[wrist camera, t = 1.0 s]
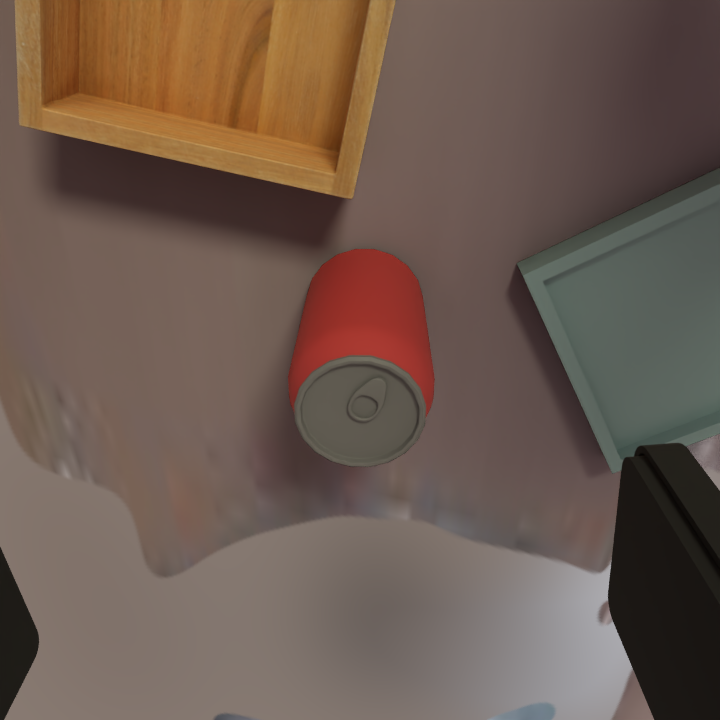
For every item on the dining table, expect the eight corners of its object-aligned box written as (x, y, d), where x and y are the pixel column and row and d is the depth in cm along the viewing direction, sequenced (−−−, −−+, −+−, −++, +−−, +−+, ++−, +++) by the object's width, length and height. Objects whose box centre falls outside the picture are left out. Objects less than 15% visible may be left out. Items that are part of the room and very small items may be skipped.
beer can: (443, 276, 38) (469, 388, 27) (388, 366, 41) (392, 498, 30) (338, 224, 36) (322, 319, 26) (289, 321, 39) (256, 442, 29)
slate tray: (798, 130, 33) (819, 137, 32) (849, 362, 40) (868, 378, 38) (516, 263, 37) (522, 275, 36) (603, 456, 43) (612, 473, 42)
